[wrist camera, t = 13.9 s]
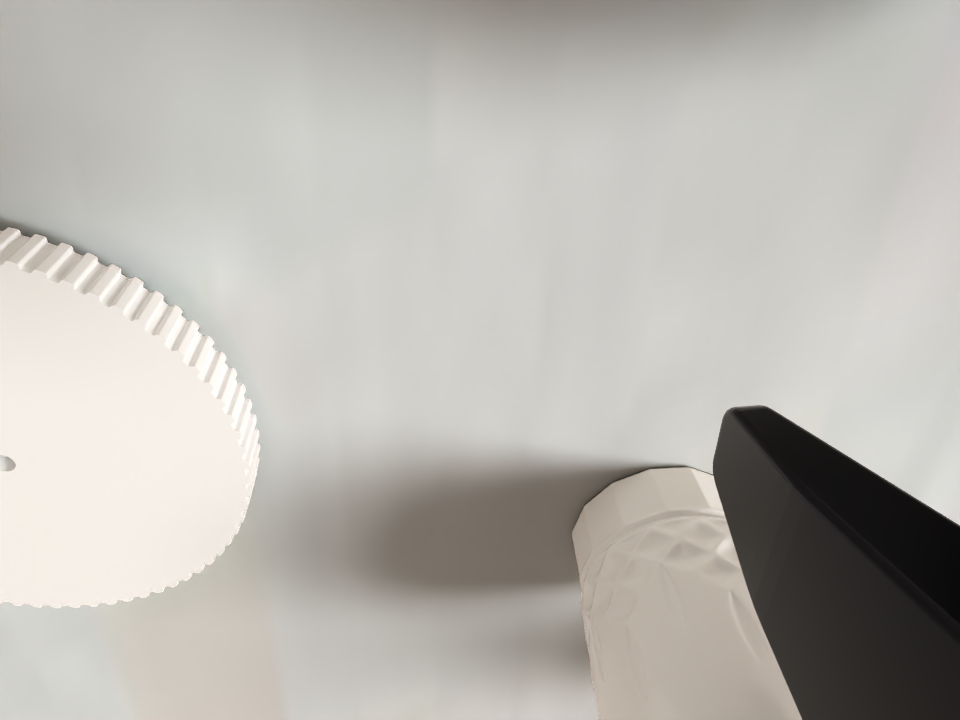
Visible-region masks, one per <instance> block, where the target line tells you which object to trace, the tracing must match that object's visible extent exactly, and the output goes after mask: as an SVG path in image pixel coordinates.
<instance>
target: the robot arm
mask: <svg viewBox="0 0 960 720" xmlns="http://www.w3.org/2000/svg"><path fill="white" fill-rule="evenodd" d="M713 476H714V481H715V485H716V488H717V491H718V494H719V498H720V501H721V504H722V507H723V511H724V514H725V517H726V521H727V524H728V527H729V530H730V534H731V537H732V540H733V543H734V547H735V550H736V553H737V556H738V560H739V563H740V566H741V569H742V573H743V576H744V579H745V582H746V586H747V589H748V592H749V595H750V597H751V600H752V603H753V606H754V609H755V611H756V614H757V616H758V618H759V621H760V623H761V626H762V628H763V631H764V633H765V635H766V637H767V640H768V642H769V644H770V647H771V649H772V651H773V654H774V656H775V658H776V660H777V663H778V665H779V667H780V670H781V672H782V674H783V677H784V679H785V681H786V684H787V686H788V688H789V690H790V693H791V695H792V697H793V700H794V702H795V704H796V707H797V709H798V711H799V714H800V716H801V718H802V720H960V525H958V524H956V523H955V522H953V521H952V520H950V519H948V518H947V517H945V516H943V515H942V514H940V513H939V512H937V511H935V510H934V509H932V508H931V507H929V506H927V505H926V504H924V503H922V502H921V501H919V500H918V499H916V498H914V497H913V496H911V495H910V494H908V493H906V492H905V491H903V490H901V489H900V488H898V487H897V486H895V485H893V484H892V483H890V482H889V481H887V480H885V479H884V478H882V477H880V476H879V475H877V474H876V473H874V472H872V471H871V470H869V469H868V468H866V467H864V466H863V465H861V464H859V463H858V462H856V461H855V460H853V459H851V458H850V457H848V456H847V455H845V454H843V453H842V452H840V451H838V450H837V449H835V448H834V447H832V446H830V445H829V444H827V443H826V442H824V441H822V440H821V439H819V438H817V437H816V436H814V435H813V434H811V433H809V432H808V431H806V430H805V429H803V428H801V427H800V426H798V425H796V424H795V423H793V422H792V421H790V420H788V419H787V418H785V417H784V416H782V415H780V414H779V413H777V412H775V411H774V410H772V409H770V408H768V407H766V406H760V405H757V406H744V407H733V408H731V409H729V410H727V411H726V413H725V414H724V417H723V420H722V424H721V429H720V433H719V437H718V442H717V446H716V451H715V455H714V460H713Z"/></svg>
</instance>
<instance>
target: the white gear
mask: <svg viewBox="0 0 960 720" xmlns="http://www.w3.org/2000/svg"><path fill="white" fill-rule="evenodd" d="M163 298H164V296H163V295H162V294H161V293H159V292H158V291H156V290H155V291H153V292H150V291H148V290H147V289H145V288H144V287H143V281H141V280H140V279H138V278H136V277H133V278H131V279H129V278H127V277H125V276H123V275H122V274H121V269H120V268H119V267H117V266H115V265H113V264H110V265H109V266H104V265H102V264H100V263H99V262H98V258H97V257H96V256H94V255H92V254H90V253H86V254H85V255H80V254H78V253H75V252H74V251H73V247H72V246H70V245H68V244H65V243H60V244H59V245H58V246H56V245H53V244H50V243H48V241H47V238H46V237H44V236H41V235H38V234H34V235H33V236H32V237H31V238H30V237H26V236H23V235H21V233H20V230H18V229H15V228H10V227H8V228H6V229H5V230H4V231H0V604H2V603H3V602H11V603H12V604H13V605H15V606H22V605H23V604H31V605H32V606H33V607H38V608H42V606H43V605H50V606H51V607H52V608H61V607H62V606H67V605H68V606H70V607H71V608H80V606H81V605H89V606H90V607H96V606H98V605H99V603H106V604H108V605H112V604H116V601H119V600H123V601H124V602H129V601H132V600H133V597H137V596H139V597H140V598H145V597H148V596H149V593H150V592H155V593H160V592H163V591H164V588H165V587H167V586H169V587H172V588H173V587H175V586H177V585H178V583H179V580H184V581H187V580H189V579H190V578H191V576H192V573H194V572H195V573H200V572H201V571H203V569H204V565H205V564H207V565H211V564H212V563H213V562H214V560H215V556H216V555H218V556H220V555H221V554H222V553H223V552H224V549H225V546H226V545H227V546H229V545H230V544H231V543H232V540H233V537H234V535H237V533H238V532H239V529H240V525H241V523H243V521H244V518H245V515H246V511H247V509H248V505H249V502H250V498H251V494H252V491H253V487H254V483H255V480H256V476H257V472H258V471H257V469H258V465H259V461H260V458H259V457H258V455H259V452H260V444H259V443H257V442H258V438H259V430H258V429H256V428H255V425H256V421H257V419H256V415H255V414H251V413H250V411H251V407H252V402H251V400H250V399H247V398H244V393H245V390H246V388H245V386H244V384H243V383H237V381H236V380H235V379H236V376H237V372H236V370H235V369H234V368H233V367H227V365H226V364H225V361H226V359H227V357H226V356H225V354H224V353H223V352H222V351H219V352H217V351H215V349H214V348H213V347H212V346H213V344H214V341H213V340H212V339H211V338H210V336H202V335H201V334H200V333H199V332H198V329H199V325H198V324H197V323H196V322H195V321H194V320H190V321H187V320H186V319H185V318H183V317H182V316H181V314H182V312H183V311H182V310H181V309H180V308H179V307H178V306H176V305H173V306H169V305H168V304H166V303H165V302H164V301H163Z"/></svg>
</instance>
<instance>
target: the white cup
mask: <svg viewBox="0 0 960 720" xmlns="http://www.w3.org/2000/svg"><path fill="white" fill-rule="evenodd" d="M572 539H573V544H574V550H575V555H576V560H577V565H578V570H579V576H580V587H581V592H582V595H581V610H582V614H583V620H584V630H585V638H586V644H587V648H588V652H589V657H590V669H591V678H592V683H593V688H594V693H595V698H596V704H597V710H598V715H599V720H802V718H801V716H800V714H799V711H798V709H797V707H796V704H795V702H794V700H793V697H792V695H791V693H790V690H789V688H788V686H787V684H786V681H785V679H784V677H783V674H782V672H781V670H780V667H779V665H778V663H777V660H776V658H775V656H774V654H773V651H772V649H771V647H770V644H769V642H768V640H767V637H766V635H765V633H764V631H763V628H762V626H761V623H760V621H759V618H758V616H757V614H756V611H755V609H754V606H753V603H752V600H751V597H750V595H749V592H748V589H747V586H746V582H745V579H744V576H743V573H742V569H741V566H740V563H739V560H738V556H737V553H736V550H735V547H734V543H733V540H732V537H731V534H730V530H729V527H728V524H727V521H726V517H725V514H724V511H723V507H722V504H721V501H720V498H719V494H718V491H717V488H716V485H715V481H714V476H713V475H710V474H707V473H704V472H701V471H698V470H695V469H693V468H689V467H683V468H661V469H649V470H646V471H643V472H640V473H638V474H635V475H632V476H630V477H627V478H624V479H622V480H619V481H616V482H614V483H612V484H610V485H609V486H608V487H607V488H605V489H604V490H603V491H602V492H601V493H599V494H598V495H597V496H596V497H595V498H593V499H592V500H591V501H590V502H588V503H587V504H586V505H585V506H584V508H583V510H582V512H581V514H580V516H579V518H578V521H577V523H576V525H575V527H574V529H573V531H572Z"/></svg>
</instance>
